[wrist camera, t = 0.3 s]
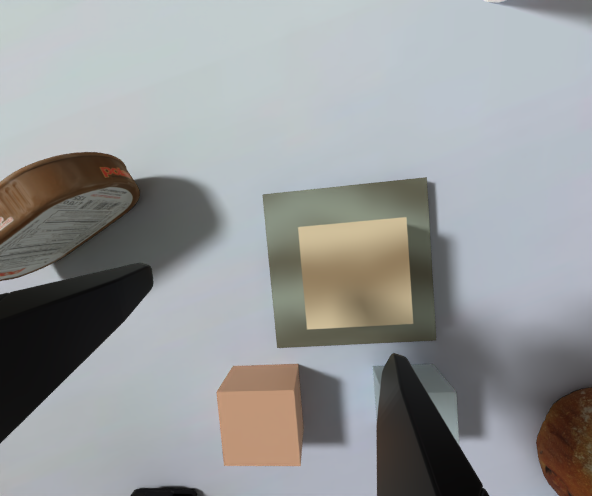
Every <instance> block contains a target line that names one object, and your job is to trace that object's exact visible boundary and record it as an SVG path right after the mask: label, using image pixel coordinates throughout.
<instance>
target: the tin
mask: <svg viewBox="0 0 592 496" xmlns="http://www.w3.org/2000/svg"><path fill="white" fill-rule="evenodd" d="M139 196H140V191H139V188H138V186H137V185H136V183H135V181H134V180H133V178H132V177H131V175H130V174H129V172H128V171H127V169H126V166H125V164H124V163H123V162H122V161H121V160H120V159H118V158H117V157H114V156H112V155H109V154H104V153H97V152H82V153H70V154H63V155H58V156H54V157H51V158H47V159H44V160H40V161H38V162H35V163H32V164H30V165H27V166H25V167H23V168H21V169H19V170H17V171H15V172H14V173H12V174H11V175H9V176H8V177H6V178H5V179H4V180H2V181H1V182H0V281H2V280H9V279H14V278H18V277H21V276H24V275H27V274H29V273H32V272H35V271H37V270H39V269H42V268H44V267H46V266H48V265H50V264H52V263H54V262H56V261H58V260H60V259H61V258H63V257H64V256H66V255H67V254H69V253H70V252H72V251H73V250H75V249H76V248H77V247H79V246H80V245H82V244H83V243H85V242H86V241H88V240H89V239H91V238H92V237H93V236H95V235H96V234H98V233H99V232H100V231H102V230H103V229H105V228H106V227H108V226H109V225H110V224H112V223H113V222H115V221H116V220H117V219H119V218H120V217H121V216H123V215H124V214H126V213H127V212H128V211H129V210H130V209H131V208H133V206H134V205H135V204H136V203H137V201H138V199H139Z"/></svg>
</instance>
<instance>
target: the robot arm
mask: <svg viewBox="0 0 592 496" xmlns="http://www.w3.org/2000/svg"><path fill="white" fill-rule="evenodd" d="M152 287H153V274H152V268H151V266H149V265H146V264H143V263H136V264H132V265H127V266H123V267H119V268H114V269H110V270H105V271H101V272H97V273H92V274H88V275H84V276H79V277H75V278H70V279H66V280H62V281H57V282H53V283H49V284H44V285H40V286H35V287H31V288H27V289H22V290H18V291H13V292H10V293H4V294H0V443H1V442H2V441H3V440H4V439H5V438H6V437H7V436H8V435H9V434H10V433H11V432H12V431H13V430H14V429H15V428H17V427H18V426H19V425H20V424H21V423H22V422H23V421H24V420H25V419H26V418H27V417H28V416H29V415H30V414H31V413H32V412H33V411H34V410H35V409H36V408H37V407H38V406H39V405H40V404H41V403H42V402H43V401H44V400H45V399H46V398H47V397H48V396H49V395H50V394H51V393H52V392H53V391H54V390H55V389H56V388H57V387H58V386H59V385H60V384H61V383H62V382H63V381H64V380H65V379H66V378H67V377H68V376H69V375H70V374H71V373H72V372H73V371H74V370H75V369H76V368H77V367H78V366H79V365H80V364H82V363H83V362H84V361H85V360H86V359H87V358H88V357H89V356H90V355H91V354H92V353H93V352H94V351H95V350H96V349H97V348H98V347H99V346H100V345H101V344H102V343H103V342H104V341H105V340H106V339H107V338H108V337H109V336H110V335H111V334H112V333H113V332H114V331H115V330H116V329H117V328H118V327H119V326H120V325H121V324H122V323H123V322H124V321H125V320H126V319H127V317H128V316H129V315H130V314H131V313H132V312H133V310H134V309H135V308H136V307H137V306H138V304H139V303H140V302H141V301H142V300H143V298H144V297H145V296H146V295H147V294H148V293H149V291H150V290H151V289H152ZM482 487H483V485H482V483H481V481H480V480H479V478H478V476H477V475H476V473H475V471H474V470H473V468H472V466H471V465H470V463H469V461H468V460H467V458H466V456H465V455H464V453H463V451H462V450H461V448H460V446H459V445H458V443H457V441H456V440H455V438H454V436H453V435H452V433H451V431H450V430H449V428H448V426H447V425H446V423H445V421H444V420H443V418H442V416H441V414H440V413H439V411H438V409H437V408H436V406H435V404H434V403H433V401H432V399H431V398H430V396H429V394H428V393H427V391H426V389H425V388H424V386H423V384H422V383H421V381H420V379H419V378H418V376H417V374H416V373H415V371H414V369H413V368H412V366H411V364H410V363H409V361H408V359H407V358H406V357H404V356H402V355H399V354H396V353H393V354H392V355H391V356H390V358H389V359H388V361H387V363H386V365H385V366H384V368H383V371H382V376H381V385H380V395H379V405H378V414H377V496H489V495H488V493H487V491H486V490H485V489H484V488H482ZM131 496H197V493H196V492H195V491H194V490H191V489H136V490H134V491H133V493H132V494H131Z"/></svg>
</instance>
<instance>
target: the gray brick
mask: <svg viewBox="0 0 592 496" xmlns="http://www.w3.org/2000/svg"><path fill="white" fill-rule="evenodd" d="M411 366H412V368H413V369H414V371H415V373H416V374H417V376H418V378H419V379H420V381H421V383H422V384H423V386H424V388H425V389H426V391H427V393H428V394H429V396H430V398H431V399H432V401H433V403H434V404H435V406H436V408H437V409H438V411H439V413H440V414H441V416H442V418H443V420H444V421H445V423H446V425H447V426H448V428H449V430H450V431H451V433H452V435H453V436H454V438H455V440H456V441H457V443H458V445H459V432H458V414H457V395H456V391H455V390H454V389H453V388H452V386H451V385H450V384H449V383H448V382H447V380H446V379H445V378H444V377H443V376H442V374H441V373H440V372H439V371H438V370H437V369H436V367H435V366H434V365H433V364H416V365H411ZM383 368H384V366H373V378H374V391H375V405H376V418H377V414H378V405H379V395H380V385H381V376H382V371H383Z"/></svg>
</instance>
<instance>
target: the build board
mask: <svg viewBox="0 0 592 496" xmlns="http://www.w3.org/2000/svg"><path fill="white" fill-rule="evenodd" d="M263 205H264V215H265V225H266V236H267V246H268V256H269V267H270V277H271V287H272V298H273V308H274V319H275V329H276V339H277V348H287V347H308V346H329V345H350V344H371V343H392V342H412V341H433V340H436V327H435V310H434V293H433V277H432V260H431V243H430V226H429V209H428V192H427V177H425V178H416V179H406V180H397V181H387V182H378V183H368V184H359V185H349V186H340V187H330V188H321V189H311V190H302V191H292V192H283V193H273V194H264V195H263Z"/></svg>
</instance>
